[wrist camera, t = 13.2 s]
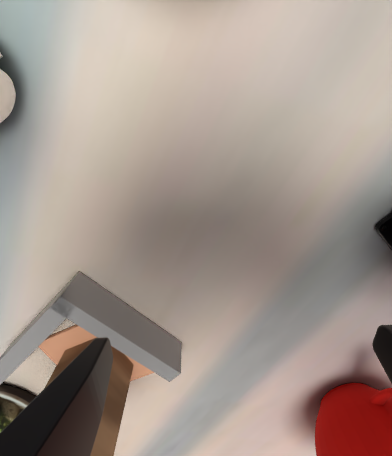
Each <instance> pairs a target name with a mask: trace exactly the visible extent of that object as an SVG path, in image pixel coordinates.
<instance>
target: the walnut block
mask: <svg viewBox="0 0 392 456" xmlns="http://www.w3.org/2000/svg"><path fill="white" fill-rule="evenodd" d="M96 338H98V337H96ZM96 338H94V339H96ZM94 339H91V340H89V341H86V342H84V343H82V344H79V345H77V346H74V347H72V348H69V349H67V350H65V351H64V353H63V355H62V357H61V359H60V361H59V363H58V364H57V366H56V368H55V370H54V372H53V374H52V375H51V377H50V379H49V381H48V383H47V385H46V386H45V388H46V387H47V386H48V385H49V384H50V383H51V382H52V381H53V380H54V379H55V378H56V377H57V376H58V375H59V374H60V373H61V372H62V371H63V370H64V369H65V368H66V367H67V366H68V365H69V364H70V363H71V362H72V361H73V360H74V359H75V358H76V357H77V356H78V355H79V354H80V353H81V352H82V351H83V350H84V349H85V348H86V347H87V346H88V345H89V344H90V343H91V342H92V341H93V340H94ZM111 348H112V353H113V364H112V369H111V374H110V379H109V384H108V389H107V395H106V400H105V405H104V410H103V414H102V418H101V422H100V425H99V428H98V432H97V435H96V439H95V442H94V445H93V449H92V452H91V455H90V456H113V455H114V450H115V446H116V442H117V437H118V433H119V428H120V424H121V419H122V415H123V410H124V406H125V402H126V397H127V393H128V388H129V384H130V379H131V375H132V370H133V366H134V365H133V363H132V362H131V361H130V360H129V359H128V357H127V356H126V355H125V354H124V353H122V352H120V351H119V350H117V349H115V348H114V347H112V346H111ZM45 388H44V389H45Z"/></svg>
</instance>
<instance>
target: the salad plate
mask: <svg viewBox="0 0 392 456" xmlns="http://www.w3.org/2000/svg"><path fill="white" fill-rule="evenodd" d="M35 398H36V397H35V396H34V395H32V394H31V393H29V392H27V391H25V390H22V389H20V388H17V387H13V386H9V385H5V384H1V385H0V433H1V432H2V431H3V430H4V429H5V428H6V427H7V426H8V425H9V424H10V423H11V422H12V421H13V420H14V419H15V418H16V417H17V416H18V415H19V414H20V413H21V412H22V411H23V410H24V409H25V408H26V407H27V406H28V405H29V404H30V403H31V402H32V401H33V400H34V399H35Z"/></svg>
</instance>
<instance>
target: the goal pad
mask: <svg viewBox="0 0 392 456" xmlns="http://www.w3.org/2000/svg"><path fill="white" fill-rule="evenodd" d="M94 338H96V336H94V335H93V334H91V333H89V332H88V331H86V330H85V329H83V328H81V327H80V326H78V325H74V326H72V327H70V328H67V329H65V330H62V331H60V332H58V333H55V334H53V335H51V336H48V337H47V338H46V339H45V340H44V341H43V342H42V343H41V344H40V345H39V346H38V347H39V348H40V349H41V350H42V351H43V352H44V353H45V354H46V355H47V356H48V357H49V358H50V359H51V360H52V361H53V362H54V363H55V364H56V365H57V364H58V363H59V361H60V359H61V357H62V355H63V353H64V351H65V350H67V349H69V348H72V347H74V346H77V345H79V344H82V343H84V342H86V341H89V340H91V339H94ZM126 356H127V355H126ZM127 357H128V356H127ZM128 359H129V360H130V361H131V362H132V363H133V365H134V366H133V370H132V375H131V379H130V381H132V380H135V379H138V378H141V377H143V376H146V375H149V374H151V373H154V372H153V371H151V370H150V369H148V368H146V367H145V366H143V365H141V364H140V363H138V362H137V361H135V360H133V359H132V358H130V357H128Z"/></svg>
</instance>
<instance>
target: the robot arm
mask: <svg viewBox="0 0 392 456" xmlns="http://www.w3.org/2000/svg"><path fill="white" fill-rule="evenodd" d="M383 226H384V228H383V229H382V227H383ZM376 230H377V232H378V233H379V234H380V236H381V237H382V238H383V239H384V241H385V242H386V243H387V244H388V246H389V247H390V248H391V250H392V213H391V214H389V215H388V216H387V217H385V218H384V219H383V220H381V221H380V222H379V223H378V224H377V225H376ZM373 349H374V351H375V353H376V355H377V357H378V359H379V361H380V363H381V364H382V366H383V368H384V370H385V372H386V374H387V375H388V377H389V379H390V381H391V383H392V325H381V326H379V327H378V329H377V332H376V335H375V338H374V340H373ZM112 364H113V353H112V348H111V344H110V340H109V338H107V337H103V338H96V339H94V340H93V341H92V342H91V343H90V344H89V345H88V346H87V347H86V348H85V349H84V350H83V351H82V352H81V353H80V354H79V355H78V356H77V357H76V358H75V359H74V360H73V361H72V362H71V363H70V364H69V365H68V366H67V367H66V368H65V369H64V370H63V371H62V372H61V373H60V374H59V375H58V376H57V377H56V378H55V379H54V380H53V381H52V382H51V383H50V384H49V385H48V386H47V387H46V388H45V389H44V390H43V391H42V392H41V393H40V394H39V395H38V396H37V397H36V398H35V399H34V400H33V401H32V402H31V403H30V404H29V405H28V406H27V407H26V408H25V409H24V410H23V411H22V412H21V413H20V414H19V415H18V416H17V417H16V418H15V419H14V420H13V421H12V422H11V423H10V424H9V425H8V426H7V427H6V428H5V429H4V430H3V431H2V432H1V433H0V456H90V455H91V452H92V449H93V445H94V442H95V439H96V435H97V432H98V428H99V425H100V422H101V418H102V414H103V410H104V405H105V400H106V395H107V389H108V384H109V379H110V374H111V369H112Z"/></svg>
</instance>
